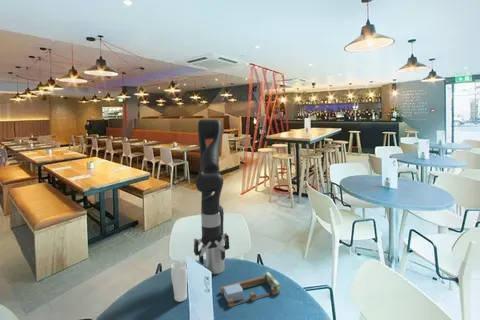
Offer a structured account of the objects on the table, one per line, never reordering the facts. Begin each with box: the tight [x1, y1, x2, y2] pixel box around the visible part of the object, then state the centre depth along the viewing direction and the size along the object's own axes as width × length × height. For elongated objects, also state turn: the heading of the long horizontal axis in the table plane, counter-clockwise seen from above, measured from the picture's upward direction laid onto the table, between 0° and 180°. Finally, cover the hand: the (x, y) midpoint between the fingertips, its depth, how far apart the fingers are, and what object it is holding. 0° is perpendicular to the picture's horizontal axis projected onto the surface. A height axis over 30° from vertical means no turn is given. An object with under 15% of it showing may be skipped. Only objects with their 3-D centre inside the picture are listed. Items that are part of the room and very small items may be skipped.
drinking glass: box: [170, 260, 188, 303], centre depth 112 cm, size 7×7×15 cm
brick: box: [223, 283, 245, 303], centre depth 113 cm, size 6×7×4 cm
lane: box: [220, 271, 281, 308], centre depth 115 cm, size 11×24×4 cm, turn 112°
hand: (212, 261), depth 107 cm, fingers open, 8 cm apart
